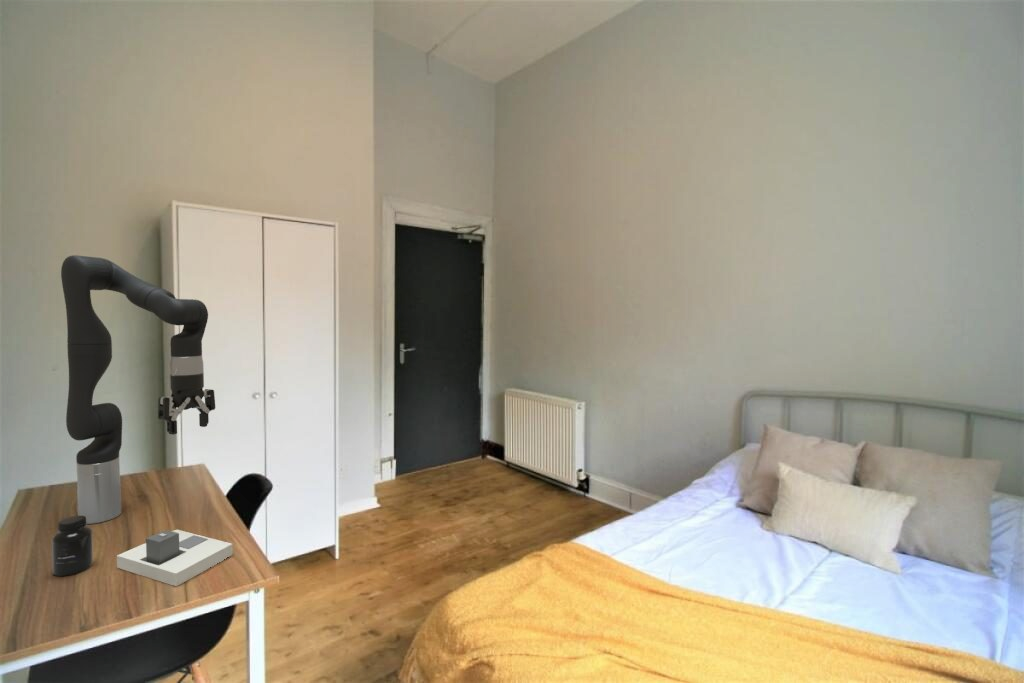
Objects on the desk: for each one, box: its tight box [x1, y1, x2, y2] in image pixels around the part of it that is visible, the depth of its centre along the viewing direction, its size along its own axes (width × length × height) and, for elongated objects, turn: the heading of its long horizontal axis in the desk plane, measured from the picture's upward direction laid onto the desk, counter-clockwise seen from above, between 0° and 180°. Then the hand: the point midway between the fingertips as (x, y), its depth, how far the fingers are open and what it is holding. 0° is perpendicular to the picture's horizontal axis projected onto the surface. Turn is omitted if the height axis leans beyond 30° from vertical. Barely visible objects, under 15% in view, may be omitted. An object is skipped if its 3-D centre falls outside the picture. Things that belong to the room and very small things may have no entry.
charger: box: [145, 529, 180, 566], centre depth 110 cm, size 4×4×8 cm
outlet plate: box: [116, 529, 234, 587], centre depth 113 cm, size 20×14×3 cm
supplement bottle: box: [51, 515, 93, 577], centre depth 108 cm, size 7×7×12 cm
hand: (188, 430), depth 127 cm, fingers open, 8 cm apart
